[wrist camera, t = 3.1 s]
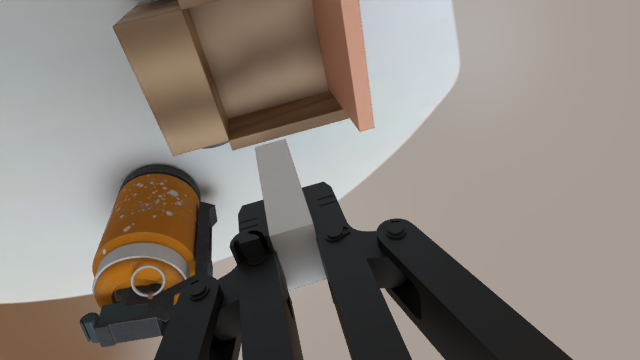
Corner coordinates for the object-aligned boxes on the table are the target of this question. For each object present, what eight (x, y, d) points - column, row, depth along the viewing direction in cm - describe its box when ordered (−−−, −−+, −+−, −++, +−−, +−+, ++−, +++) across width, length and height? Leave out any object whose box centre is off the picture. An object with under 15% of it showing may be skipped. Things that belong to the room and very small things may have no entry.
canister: (112, 166, 44) (48, 306, 27) (213, 158, 46) (212, 283, 30) (130, 229, 49) (86, 380, 32) (221, 218, 51) (224, 355, 34)
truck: (123, -26, 35) (94, -13, 27) (302, -67, 36) (327, -68, 28) (190, 133, 44) (184, 180, 36) (331, 95, 45) (357, 131, 37)
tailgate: (307, -22, 33) (339, -7, 25) (325, -27, 33) (363, -13, 25) (328, 88, 39) (359, 131, 30) (343, 84, 39) (379, 126, 30)
